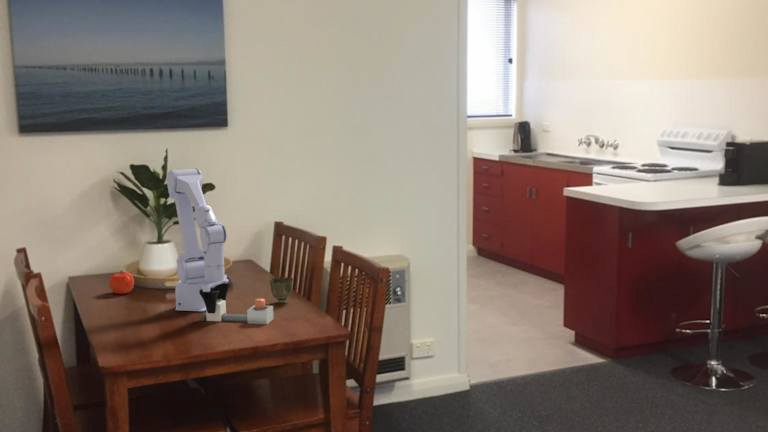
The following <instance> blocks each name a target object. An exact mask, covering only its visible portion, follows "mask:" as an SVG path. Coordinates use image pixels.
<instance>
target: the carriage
mask: <svg viewBox="0 0 768 432" xmlns="http://www.w3.org/2000/svg"><path fill="white" fill-rule="evenodd" d="M226 305H227V301H226V300H222V299H217V301H216V311H215V313H208V312H207V309H206V310H205V313H206V318H207V320H206V322H223V321H222V316H221V315H223V314H227V306H226Z"/></svg>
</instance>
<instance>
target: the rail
mask: <svg viewBox="0 0 768 432" xmlns="http://www.w3.org/2000/svg"><path fill="white" fill-rule="evenodd" d="M221 316H222V321H221V322H224V321H225V322H244V323H248V321H247V314H243V313H226V314H223V315H221ZM202 321H203V322H205V321H207V318H206V312H205V313H202V315H201V317H200V322H202Z"/></svg>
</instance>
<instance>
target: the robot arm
mask: <svg viewBox="0 0 768 432" xmlns="http://www.w3.org/2000/svg"><path fill="white" fill-rule="evenodd" d="M166 175H167V176H166V184H167V185H166V186H167V189H168V191H167V192H168V194H169V198H170V199H173V200H174V203H175V208H176V213H177V220H178V224H179V230H180V237H181V242H182V247H183V251H182V252H181V253H180V254H179V255H178V257H177V258H176V274H177V277H178V279H179V280H178V281H177V282H176V284H175V291H174V292H175V311H183V312H185V311H186V312H187V311H188V312H206V309H207V312H208V313H215V311H216V301H217V299H222V300H226V299H227V295H228V292H229V289H230V287H231V285H232V283H231V282H230V281H229V279H228V274H225V258H224V257H225V255H224V253H225V252H224V244H225V243H226V242H227V230H226V228H225V225H224V224H223V223H221V222H220V221H218V219H217V217H216V214H215V212H214V210H213V208H212V206H210V205H208V204H207V203H206V200H205V196H204V193H203V189H202V188H203V182H204V178H203V174H202V171H201V169H200V168H198V167H196V168H190V169H189V168H188V169H187V168H185V169H169V170H168V173H167V174H166ZM196 223H197V225H198V228H199V237H198V232H197V226H196ZM199 239H200V242H199ZM200 243H201V246H200ZM200 247H201V248H200Z"/></svg>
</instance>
